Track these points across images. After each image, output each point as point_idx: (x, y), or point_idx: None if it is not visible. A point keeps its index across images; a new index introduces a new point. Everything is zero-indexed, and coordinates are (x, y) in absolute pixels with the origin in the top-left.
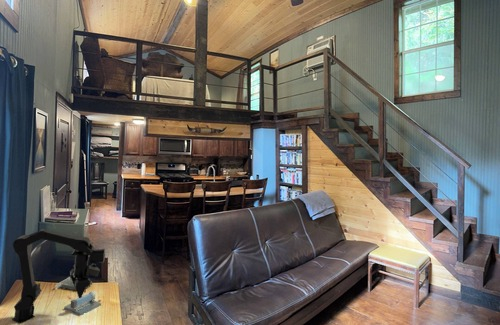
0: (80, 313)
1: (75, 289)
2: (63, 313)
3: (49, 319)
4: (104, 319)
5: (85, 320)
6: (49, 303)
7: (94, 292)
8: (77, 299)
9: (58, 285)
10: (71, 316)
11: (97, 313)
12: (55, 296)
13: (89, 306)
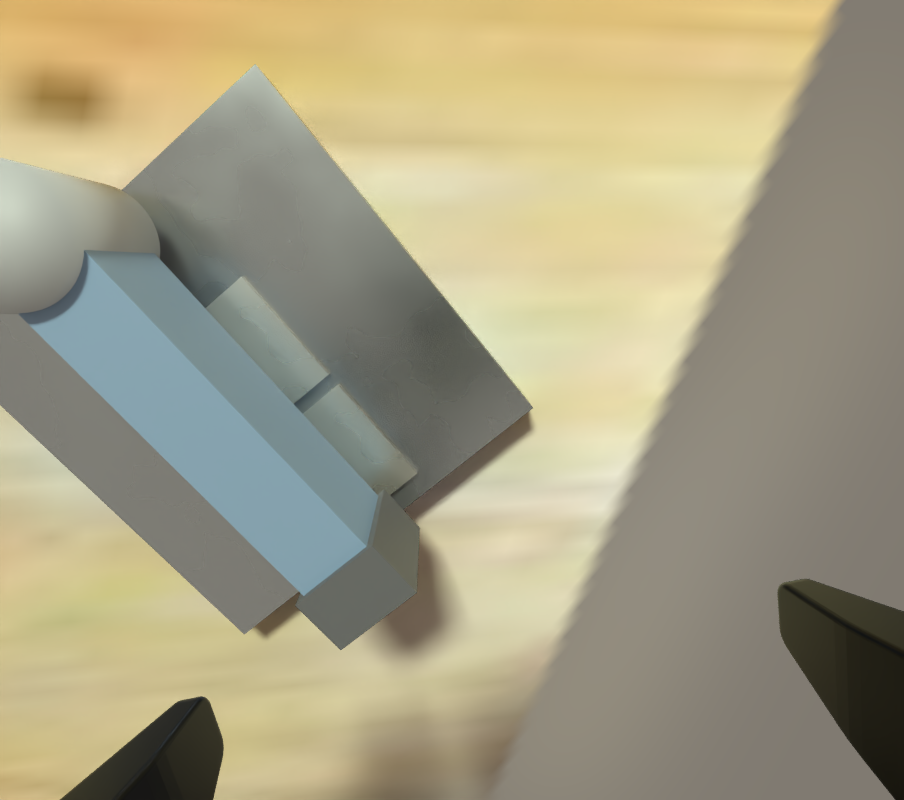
0: (528, 408)
1: (212, 793)
2: None
3: (495, 730)
4: (788, 36)
5: (694, 326)
6: (50, 787)
7: (6, 186)
8: (299, 539)
9: None
10: (507, 508)
11: (547, 149)
12: None
13: (339, 281)
